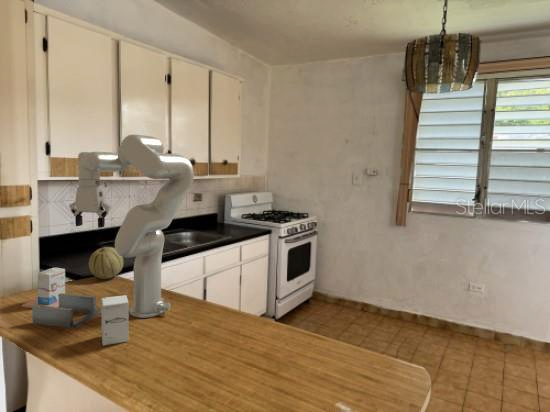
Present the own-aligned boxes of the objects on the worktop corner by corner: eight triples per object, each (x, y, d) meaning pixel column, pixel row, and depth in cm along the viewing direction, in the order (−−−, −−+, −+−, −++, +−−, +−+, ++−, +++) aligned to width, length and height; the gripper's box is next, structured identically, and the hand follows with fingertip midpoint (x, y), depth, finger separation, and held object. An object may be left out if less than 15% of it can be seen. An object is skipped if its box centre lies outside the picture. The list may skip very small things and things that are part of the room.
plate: (78, 298, 145) (78, 296, 145) (53, 310, 133) (53, 308, 133) (48, 295, 147) (48, 293, 147) (21, 307, 135) (21, 304, 135)
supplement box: (102, 346, 108) (101, 305, 107) (101, 336, 115) (100, 297, 114) (129, 342, 112) (128, 302, 110) (126, 332, 118) (126, 294, 117)
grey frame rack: (100, 313, 132) (100, 297, 131) (75, 328, 119) (75, 310, 119) (61, 308, 134) (60, 293, 134) (32, 323, 122) (32, 306, 121)
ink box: (49, 305, 135) (48, 274, 134) (37, 303, 136) (36, 272, 135) (66, 297, 144) (65, 267, 142) (54, 296, 144) (53, 266, 143)
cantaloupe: (124, 272, 181) (123, 242, 180) (122, 281, 168) (122, 249, 166) (90, 274, 176) (90, 243, 175) (86, 284, 162) (86, 250, 161)
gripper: (115, 184, 147) (115, 226, 149) (76, 182, 150) (77, 223, 152) (103, 185, 140) (104, 229, 142) (62, 183, 142) (63, 226, 144)
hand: (90, 226), depth 147 cm, fingers open, 9 cm apart
